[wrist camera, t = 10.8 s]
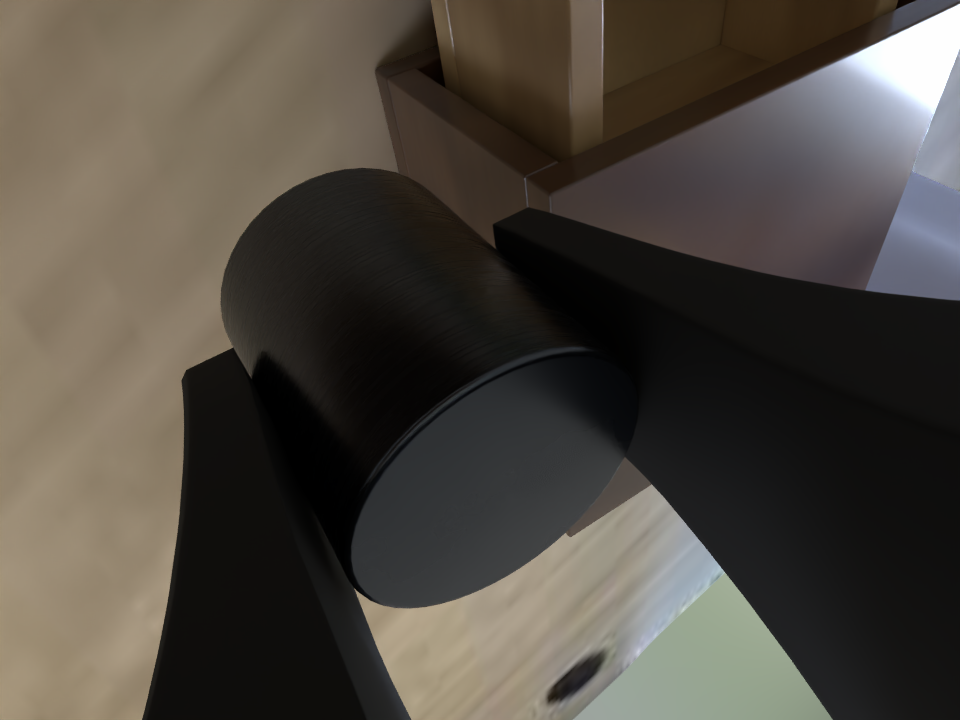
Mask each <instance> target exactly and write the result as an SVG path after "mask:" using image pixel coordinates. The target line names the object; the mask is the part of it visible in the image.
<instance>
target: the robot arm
mask: <svg viewBox="0 0 960 720" xmlns="http://www.w3.org/2000/svg"><path fill="white" fill-rule="evenodd" d="M492 226H493V233H494V240H495V247H496V250H497V251H499V252H500V253H501V254H502V255H503V256H504V257H505V258H506V259H508V260H509V261H510V262H511V263H512V264H513V265H514V266H515V267H517V268H518V269H519V270H520V271H521V272H522V273H523V274H524V275H526V276H527V277H528V278H529V279H530V280H531V281H532V282H534V283H535V284H536V285H537V286H538V287H539V288H540V289H541V290H543V291H544V292H545V293H546V294H547V295H548V296H549V297H550V298H552V299H553V300H554V301H555V302H556V303H557V304H558V305H559V306H561V307H562V308H563V309H564V310H565V311H566V312H567V313H568V314H570V315H571V316H572V317H573V318H574V319H575V320H576V321H578V322H579V323H580V324H581V325H582V326H583V327H584V328H585V329H587V330H588V331H589V332H590V333H591V334H592V335H593V336H594V337H596V338H597V339H598V340H599V341H600V342H601V343H602V344H603V345H605V346H606V347H607V348H608V349H609V350H610V351H611V352H612V353H614V354H615V355H616V356H617V357H618V358H619V359H620V360H622V361H623V363H624V364H625V365H626V366H627V368H628V369H629V370H630V372H631V374H632V376H633V379H634V381H635V383H636V386H637V391H638V395H639V413H638V420H637V425H636V429H635V432H634V436H633V439H632V441H631V444H630V446H629V449H628V451H627V453H626V455H625V458H626V459H627V460H628V461H630V462H631V463H632V464H633V465H634V466H635V467H636V468H637V469H638V470H639V471H640V472H641V473H642V474H643V475H644V476H645V477H646V478H647V480H648V481H649V482H650V483H651V484H652V485H653V486H654V487H655V488H656V489H657V490H658V491H659V492H660V493H661V495H662V496H663V497H664V498H665V499H666V500H667V501H668V503H669V504H670V505H671V506H672V507H673V509H674V510H675V511H676V512H677V513H678V515H679V516H680V517H681V518H682V519H683V521H684V522H685V523H686V524H687V526H688V527H689V528H690V529H691V530H692V532H693V533H694V534H695V535H696V536H697V538H698V539H699V540H700V541H701V542H702V544H703V545H704V546H705V547H706V549H707V550H708V551H709V552H710V554H711V555H712V556H713V558H714V559H715V560H716V561H717V563H718V564H719V565H720V566H721V568H722V569H723V570H724V572H725V573H726V574H727V575H728V576H729V578H730V579H731V580H732V582H733V583H734V584H735V586H736V587H737V588H738V589H739V591H740V592H741V593H742V594H743V595H744V597H745V598H746V600H747V601H748V602H749V603H750V605H751V606H752V608H753V609H754V610H755V612H756V613H757V614H758V616H759V617H760V618H761V620H762V621H763V622H764V624H765V625H766V626H767V628H768V629H769V631H770V632H771V633H772V635H773V636H774V637H775V639H776V640H777V641H778V643H779V644H780V645H781V646H782V648H783V649H784V651H785V652H786V653H787V655H788V656H789V657H790V659H791V660H792V662H793V663H794V664H795V666H796V667H797V669H798V670H799V672H800V673H801V675H802V676H803V677H804V679H805V680H806V682H807V683H808V685H809V686H810V687H811V689H812V690H813V692H814V693H815V695H816V696H817V697H818V699H819V700H820V702H821V703H822V705H823V706H824V707H825V709H826V710H827V712H828V713H829V715H830V716H831V718H832V719H833V720H960V192H959V191H957V190H955V189H952V188H950V187H948V186H945V185H943V184H941V183H938V182H936V181H934V180H931V179H929V178H926V177H924V176H922V175H919V174H917V173H915V172H911V174H910V177H909V179H908V182H907V184H906V187H905V190H904V192H903V195H902V197H901V200H900V202H899V205H898V208H897V210H896V213H895V215H894V218H893V220H892V223H891V225H890V228H889V231H888V233H887V236H886V238H885V241H884V243H883V246H882V249H881V251H880V254H879V256H878V259H877V261H876V264H875V266H874V269H873V272H872V274H871V277H870V279H869V282H868V284H867V287H866V290H859V289H851V288H844V287H839V286H833V285H827V284H821V283H815V282H809V281H804V280H798V279H792V278H786V277H781V276H776V275H772V274H767V273H762V272H757V271H753V270H749V269H745V268H740V267H736V266H732V265H728V264H724V263H720V262H715V261H711V260H707V259H703V258H700V257H696V256H692V255H689V254H685V253H681V252H678V251H674V250H671V249H667V248H663V247H660V246H657V245H653V244H650V243H647V242H643V241H640V240H637V239H633V238H630V237H627V236H623V235H620V234H617V233H614V232H611V231H607V230H604V229H601V228H598V227H595V226H592V225H588V224H585V223H582V222H579V221H576V220H572V219H569V218H566V217H563V216H559V215H556V214H553V213H549V212H546V211H542V210H538V209H534V208H530V207H528V208H525V209H523V210H521V211H519V212H517V213H515V214H513V215H511V216H509V217H507V218H504V219H502V220H500V221H498V222H496V223H494V224H492ZM182 390H183V403H184V460H183V475H182V489H181V502H180V515H179V525H178V533H177V541H176V548H175V555H174V562H173V569H172V576H171V583H170V590H169V597H168V603H167V608H166V614H165V619H164V625H163V630H162V635H161V640H160V645H159V650H158V655H157V659H156V664H155V668H154V672H153V677H152V681H151V686H150V690H149V694H148V699H147V703H146V707H145V711H144V715H143V718H142V720H411V718H410V716H409V714H408V712H407V710H406V708H405V706H404V704H403V702H402V700H401V698H400V696H399V694H398V692H397V690H396V688H395V686H394V684H393V682H392V680H391V678H390V676H389V674H388V671H387V669H386V667H385V665H384V662H383V660H382V658H381V656H380V653H379V651H378V649H377V646H376V644H375V641H374V638H373V636H372V633H371V631H370V628H369V626H368V623H367V621H366V618H365V615H364V613H363V610H362V608H361V605H360V603H359V600H358V597H357V595H356V592H355V590H354V587H353V586H352V585H351V583H350V582H349V581H348V579H347V577H346V575H345V573H344V571H343V569H342V567H341V565H340V563H339V561H338V559H337V557H336V555H335V552H334V550H333V548H332V546H331V544H330V542H329V540H328V538H327V536H326V534H325V532H324V530H323V528H322V526H321V524H320V522H319V520H318V518H317V516H316V514H315V512H314V510H313V508H312V506H311V504H310V502H309V500H308V498H307V496H306V494H305V492H304V490H303V488H302V486H301V483H300V481H299V479H298V477H297V475H296V473H295V471H294V469H293V467H292V465H291V463H290V460H289V458H288V455H287V453H286V450H285V448H284V446H283V443H282V441H281V438H280V436H279V434H278V431H277V429H276V427H275V425H274V423H273V421H272V419H271V417H270V415H269V413H268V411H267V409H266V407H265V405H264V403H263V401H262V399H261V397H260V395H259V393H258V391H257V389H256V387H255V385H254V383H253V381H252V379H251V377H250V375H249V374H248V372H247V370H246V368H245V367H244V365H243V363H242V362H241V360H240V358H239V356H238V355H237V353H236V351H235V350H234V348H231V349H229V350H227V351H225V352H223V353H221V354H219V355H217V356H215V357H213V358H211V359H208V360H206V361H204V362H202V363H200V364H198V365H196V366H194V367H192V368H190V369H187V370H186V372H185V374H184V376H183V378H182Z"/></svg>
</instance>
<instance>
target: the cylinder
mask: <svg viewBox="0 0 960 720" xmlns="http://www.w3.org/2000/svg"><path fill="white" fill-rule="evenodd" d="M221 312H222V319H223V323H224V326H225V330H226V333H227V335H228V337H229V339H230V341H231V343H232V346H233V348H234V350H235V351H236V353H237V355H238V356H239V358H240V360H241V362H242V363H243V365H244V367H245V368H246V370H247V372H248V374H249V375H250V377H251V379H252V381H253V383H254V385H255V387H256V389H257V391H258V393H259V395H260V397H261V399H262V401H263V403H264V405H265V407H266V409H267V411H268V413H269V415H270V417H271V419H272V421H273V423H274V425H275V427H276V429H277V431H278V434H279V436H280V438H281V441H282V443H283V446H284V448H285V450H286V453H287V455H288V458H289V460H290V463H291V465H292V467H293V469H294V471H295V473H296V475H297V477H298V479H299V481H300V483H301V486H302V488H303V490H304V492H305V494H306V496H307V498H308V500H309V502H310V504H311V506H312V508H313V510H314V512H315V514H316V516H317V518H318V520H319V522H320V524H321V526H322V528H323V530H324V532H325V534H326V536H327V538H328V540H329V542H330V544H331V546H332V548H333V550H334V552H335V555H336V557H337V559H338V561H339V563H340V565H341V567H342V569H343V571H344V573H345V575H346V577H347V579H348V581H349V582H350V583H351V585H352V586H353V587H354V588H355V589H356V591H358V592H359V593H361V594H362V595H363V596H365V597H366V598H368V599H369V600H370V601H373V602H375V603H378V604H380V605H383V606H389V607H394V608H419V607H427V606H432V605H438V604H442V603H445V602H449V601H452V600H456V599H459V598H461V597H464V596H467V595H469V594H472V593H474V592H476V591H479V590H481V589H483V588H485V587H487V586H489V585H491V584H493V583H495V582H497V581H499V580H501V579H503V578H504V577H506V576H508V575H509V574H511V573H513V572H514V571H516V570H518V569H519V568H521V567H522V566H524V565H525V564H527V563H528V562H529V561H531V560H532V559H534V558H535V557H537V556H538V555H539V554H540V553H542V552H543V551H544V550H546V549H547V548H548V547H549V546H551V545H552V544H553V543H554V542H555V541H557V540H558V539H559V538H560V537H561V536H562V535H563V534H565V533H566V532H567V531H568V530H569V529H570V528H571V527H572V526H573V525H574V524H575V523H576V522H577V521H578V520H579V519H580V518H581V517H582V516H583V515H584V513H585V512H586V511H587V510H588V509H589V508H590V507H591V506H592V505H593V503H594V502H595V501H596V500H597V498H598V497H599V496H600V495H601V494H602V492H603V491H604V489H605V488H606V487H607V485H608V484H609V482H610V481H611V480H612V478H613V476H614V475H615V473H616V471H617V470H618V468H619V467H620V465H621V463H622V461H623V459H624V457H625V455H626V453H627V451H628V449H629V446H630V444H631V441H632V439H633V436H634V432H635V429H636V425H637V420H638V413H639V395H638V391H637V386H636V383H635V381H634V379H633V376H632V374H631V372H630V370H629V369H628V368H627V366H626V365H625V364H624V363H623V361H622V360H620V359H619V358H618V357H617V356H616V355H615V354H614V353H612V352H611V351H610V350H609V349H608V348H607V347H606V346H605V345H603V344H602V343H601V342H600V341H599V340H598V339H597V338H596V337H594V336H593V335H592V334H591V333H590V332H589V331H588V330H587V329H585V328H584V327H583V326H582V325H581V324H580V323H579V322H578V321H576V320H575V319H574V318H573V317H572V316H571V315H570V314H568V313H567V312H566V311H565V310H564V309H563V308H562V307H561V306H559V305H558V304H557V303H556V302H555V301H554V300H553V299H552V298H550V297H549V296H548V295H547V294H546V293H545V292H544V291H543V290H541V289H540V288H539V287H538V286H537V285H536V284H535V283H534V282H532V281H531V280H530V279H529V278H528V277H527V276H526V275H524V274H523V273H522V272H521V271H520V270H519V269H518V268H517V267H515V266H514V265H513V264H512V263H511V262H510V261H509V260H508V259H506V258H505V257H504V256H503V255H502V254H501V253H500V252H499V251H497V250H496V249H495V248H494V247H493V246H492V245H491V244H489V243H488V242H487V241H486V240H485V239H484V238H483V237H482V236H480V235H479V234H478V233H477V232H476V231H475V230H474V229H473V228H471V227H470V226H469V225H468V224H467V223H466V222H465V221H464V220H462V219H461V218H460V217H459V216H458V215H457V214H456V213H455V212H453V211H452V210H451V209H450V208H449V207H448V206H447V205H445V204H444V203H443V202H442V201H441V200H440V199H439V198H438V197H436V196H435V195H434V194H433V193H432V192H431V191H429V190H428V189H427V188H426V187H424V186H423V185H422V184H420V183H418V182H416V181H415V180H413V179H411V178H409V177H407V176H404V175H401V174H398V173H396V172H391V171H387V170H382V169H370V168H356V169H344V170H339V171H334V172H330V173H326V174H323V175H320V176H317V177H314V178H311V179H309V180H307V181H305V182H303V183H301V184H298V185H296V186H294V187H293V188H291V189H289V190H288V191H286V192H285V193H283V194H282V195H280V196H279V197H277V198H276V199H275V200H274V201H272V202H271V203H270V204H269V205H268V206H266V207H265V208H264V209H263V210H262V211H261V212H260V213H259V214H258V215H257V216H256V217H255V219H254V220H253V221H252V222H251V223H250V224H249V226H248V227H247V228H246V230H245V231H244V232H243V234H242V235H241V237H240V238H239V240H238V242H237V244H236V246H235V247H234V249H233V251H232V253H231V256H230V258H229V261H228V264H227V266H226V269H225V273H224V277H223V282H222V287H221Z"/></svg>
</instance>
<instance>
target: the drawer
mask: <svg viewBox="0 0 960 720" xmlns="http://www.w3.org/2000/svg"><path fill="white" fill-rule="evenodd" d="M897 2H898V0H431V4H432V10H433V16H434V22H435V28H436V34H437V40H438V46H439V52H440V58H441V64H442V70H443V76H444V82H445V87H446V89H448V90H449V91H451V92H452V93H454V94H456V95H457V96H459V97H460V98H462V99H463V100H465V101H466V102H468V103H469V104H471V105H472V106H474V107H475V108H477V109H478V110H480V111H482V112H483V113H485V114H486V115H488V116H489V117H491V118H492V119H494V120H495V121H497V122H498V123H500V124H501V125H503V126H504V127H506V128H508V129H509V130H511V131H512V132H514V133H515V134H517V135H518V136H520V137H521V138H523V139H524V140H526V141H527V142H529V143H531V144H532V145H534V146H535V147H537V148H538V149H540V150H541V151H543V152H544V153H546V154H547V155H549V156H550V157H552V158H553V159H555V160H557V161H558V163H560V162H562V161H564V160H566V159H568V158H571V157H573V156H575V155H577V154H579V153H582V152H584V151H586V150H588V149H590V148H593V147H595V146H597V145H599V144H601V143H604V142H606V141H608V140H610V139H612V138H615V137H617V136H619V135H621V134H623V133H626V132H628V131H630V130H632V129H634V128H637V127H639V126H641V125H643V124H645V123H648V122H650V121H652V120H654V119H656V118H659V117H661V116H663V115H665V114H667V113H670V112H672V111H674V110H676V109H678V108H680V107H683V106H685V105H687V104H689V103H691V102H694V101H696V100H698V99H700V98H702V97H705V96H707V95H709V94H711V93H713V92H716V91H718V90H720V89H722V88H724V87H727V86H729V85H731V84H733V83H735V82H738V81H740V80H742V79H744V78H746V77H749V76H751V75H753V74H755V73H757V72H760V71H762V70H764V69H766V68H768V67H771V66H773V65H775V64H777V63H779V62H782V61H784V60H786V59H788V58H790V57H793V56H795V55H797V54H799V53H801V52H804V51H806V50H808V49H810V48H812V47H815V46H817V45H819V44H821V43H823V42H826V41H828V40H830V39H832V38H834V37H837V36H839V35H841V34H843V33H845V32H848V31H850V30H852V29H854V28H856V27H859V26H861V25H863V24H865V23H867V22H870V21H872V20H874V19H876V18H878V17H881V16H883V15H885V14H887V13H889V12H892V11H894V10H895V9H896V6H897Z"/></svg>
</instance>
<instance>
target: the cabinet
mask: <svg viewBox="0 0 960 720" xmlns="http://www.w3.org/2000/svg"><path fill="white" fill-rule="evenodd" d="M959 49H960V0H898V2H897V6H896V9H895V10H894V11H892V12H889V13H887V14H885V15H883V16H881V17H878V18H876V19H874V20H872V21H870V22H867V23H865V24H863V25H861V26H859V27H856V28H854V29H852V30H850V31H848V32H845V33H843V34H841V35H839V36H837V37H834V38H832V39H830V40H828V41H826V42H823V43H821V44H819V45H817V46H815V47H812V48H810V49H808V50H806V51H804V52H801V53H799V54H797V55H795V56H793V57H790V58H788V59H786V60H784V61H782V62H779V63H777V64H775V65H773V66H771V67H768V68H766V69H764V70H762V71H760V72H757V73H755V74H753V75H751V76H749V77H746V78H744V79H742V80H740V81H738V82H735V83H733V84H731V85H729V86H727V87H724V88H722V89H720V90H718V91H716V92H713V93H711V94H709V95H707V96H705V97H702V98H700V99H698V100H696V101H694V102H691V103H689V104H687V105H685V106H683V107H680V108H678V109H676V110H674V111H672V112H670V113H667V114H665V115H663V116H661V117H659V118H656V119H654V120H652V121H650V122H648V123H645V124H643V125H641V126H639V127H637V128H634V129H632V130H630V131H628V132H626V133H623V134H621V135H619V136H617V137H615V138H612V139H610V140H608V141H606V142H604V143H601V144H599V145H597V146H595V147H593V148H590V149H588V150H586V151H584V152H582V153H579V154H577V155H575V156H573V157H571V158H568V159H566V160H564V161H562V162H560V163H558V161H557V160H555V159H553V158H552V157H550V156H549V155H547V154H546V153H544V152H543V151H541V150H540V149H538V148H537V147H535V146H534V145H532V144H531V143H529V142H527V141H526V140H524V139H523V138H521V137H520V136H518V135H517V134H515V133H514V132H512V131H511V130H509V129H508V128H506V127H504V126H503V125H501V124H500V123H498V122H497V121H495V120H494V119H492V118H491V117H489V116H488V115H486V114H485V113H483V112H482V111H480V110H478V109H477V108H475V107H474V106H472V105H471V104H469V103H468V102H466V101H465V100H463V99H462V98H460V97H459V96H457V95H456V94H454V93H452V92H451V91H449V90H448V89H446V87H445V82H444V76H443V70H442V64H441V58H440V52H439V46H435V47H433V48H430V49H427V50H425V51H422V52H419V53H417V54H414V55H411V56H408V57H406V58H403V59H400V60H398V61H395V62H392V63H390V64H387V65H384V66H381V67H379V68H376V69H375V74H376V78H377V82H378V86H379V90H380V94H381V99H382V103H383V107H384V111H385V115H386V119H387V123H388V127H389V132H390V136H391V140H392V144H393V148H394V152H395V156H396V160H397V164H398V169H399V173H400V174H401V175H404V176H407V177H409V178H411V179H413V180H415V181H416V182H418V183H420V184H422V185H423V186H424V187H426V188H427V189H428V190H429V191H431V192H432V193H433V194H434V195H435V196H436V197H438V198H439V199H440V200H441V201H442V202H443V203H444V204H445V205H447V206H448V207H449V208H450V209H451V210H452V211H453V212H455V213H456V214H457V215H458V216H459V217H460V218H461V219H462V220H464V221H465V222H466V223H467V224H468V225H469V226H470V227H471V228H473V229H474V230H475V231H476V232H477V233H478V234H479V235H480V236H482V237H483V238H484V239H485V240H486V241H487V242H488V243H489V244H491V245H492V246H493V247H494V248H495V249H496V247H495V240H494V233H493V226H492V224H494V223H496V222H498V221H500V220H502V219H504V218H507V217H509V216H511V215H513V214H515V213H517V212H519V211H521V210H523V209H525V208H528V207H530V208H534V209H538V210H542V211H546V212H549V213H553V214H556V215H559V216H563V217H566V218H569V219H572V220H576V221H579V222H582V223H585V224H588V225H592V226H595V227H598V228H601V229H604V230H607V231H611V232H614V233H617V234H620V235H623V236H627V237H630V238H633V239H637V240H640V241H643V242H647V243H650V244H653V245H657V246H660V247H663V248H667V249H671V250H674V251H678V252H681V253H685V254H689V255H692V256H696V257H700V258H703V259H707V260H711V261H715V262H720V263H724V264H728V265H732V266H736V267H740V268H745V269H749V270H753V271H757V272H762V273H767V274H772V275H776V276H781V277H786V278H792V279H798V280H804V281H809V282H815V283H821V284H827V285H833V286H839V287H844V288H851V289H859V290H866V287H867V284H868V282H869V279H870V277H871V274H872V272H873V269H874V266H875V264H876V261H877V259H878V256H879V254H880V251H881V249H882V246H883V243H884V241H885V238H886V236H887V233H888V231H889V228H890V225H891V223H892V220H893V218H894V215H895V213H896V210H897V208H898V205H899V202H900V200H901V197H902V195H903V192H904V190H905V187H906V184H907V182H908V179H909V177H910V174H911V172H912V169H913V167H914V164H915V161H916V159H917V156H918V154H919V151H920V149H921V146H922V143H923V141H924V138H925V136H926V133H927V131H928V128H929V126H930V123H931V120H932V118H933V115H934V113H935V110H936V108H937V105H938V102H939V100H940V97H941V95H942V92H943V90H944V87H945V85H946V82H947V79H948V77H949V74H950V72H951V69H952V67H953V64H954V61H955V59H956V56H957V54H958V51H959ZM650 485H651V483H650V482H649V481H648V480H647V478H646V477H645V476H644V475H643V474H642V473H641V472H640V471H639V470H638V469H637V468H636V467H635V466H634V465H633V464H632V463H631V462H630V461H628V460H627V459H626V458H625V457H624V459H623V461H622V463H621V465H620V467H619V468H618V470H617V471H616V473H615V475H614V476H613V478H612V480H611V481H610V482H609V484H608V485H607V487H606V488H605V489H604V491H603V492H602V494H601V495H600V496H599V497H598V498H597V500H596V501H595V502H594V503H593V505H592V506H591V507H590V508H589V509H588V510H587V511H586V512H585V513H584V515H583V516H582V517H581V518H580V519H579V520H578V521H577V522H576V523H575V524H574V525H573V526H572V527H571V528H570V529H569V530H568V531H567V532H566V533H567V535H568V536H569V537H572V536H573V535H575V534H576V533H578V532H579V531H581V530H582V529H584V528H586V527H587V526H589V525H590V524H592V523H593V522H595V521H596V520H598V519H599V518H601V517H602V516H604V515H605V514H607V513H609V512H610V511H612V510H613V509H615V508H616V507H618V506H619V505H621V504H622V503H624V502H625V501H627V500H628V499H630V498H632V497H633V496H635V495H636V494H638V493H639V492H641V491H642V490H644V489H645V488H647V487H648V486H650Z"/></svg>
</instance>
